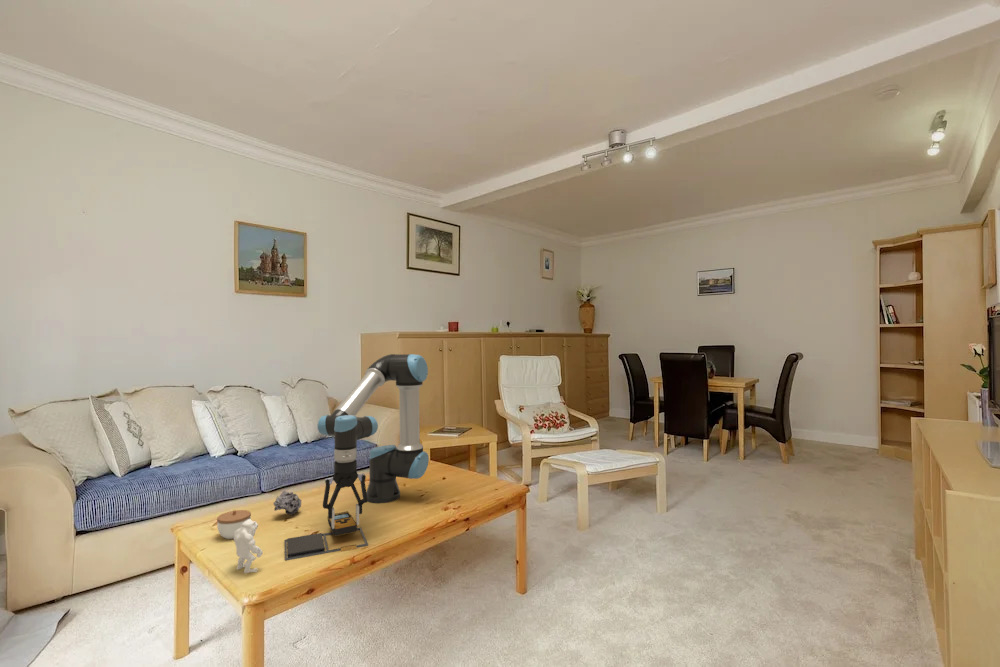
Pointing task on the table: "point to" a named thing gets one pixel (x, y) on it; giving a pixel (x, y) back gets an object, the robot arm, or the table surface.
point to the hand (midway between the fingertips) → (345, 525)
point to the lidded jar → (231, 522)
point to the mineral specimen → (288, 502)
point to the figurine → (246, 545)
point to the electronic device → (343, 524)
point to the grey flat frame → (313, 545)
